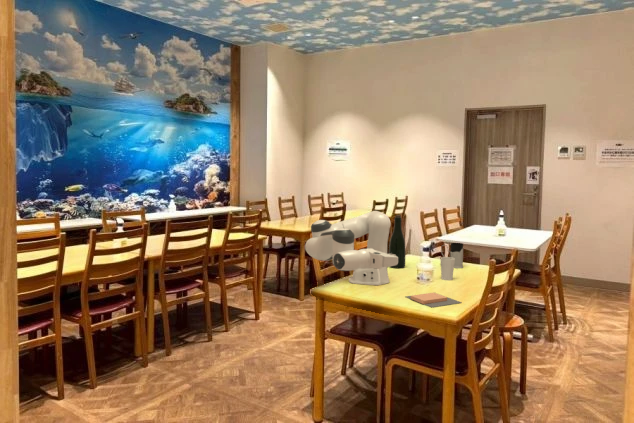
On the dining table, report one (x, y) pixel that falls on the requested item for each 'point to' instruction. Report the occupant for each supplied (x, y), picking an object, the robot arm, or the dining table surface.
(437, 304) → the mat
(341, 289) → the dining table surface
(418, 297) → the tile
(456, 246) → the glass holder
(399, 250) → the dark green bottle
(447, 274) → the cup
